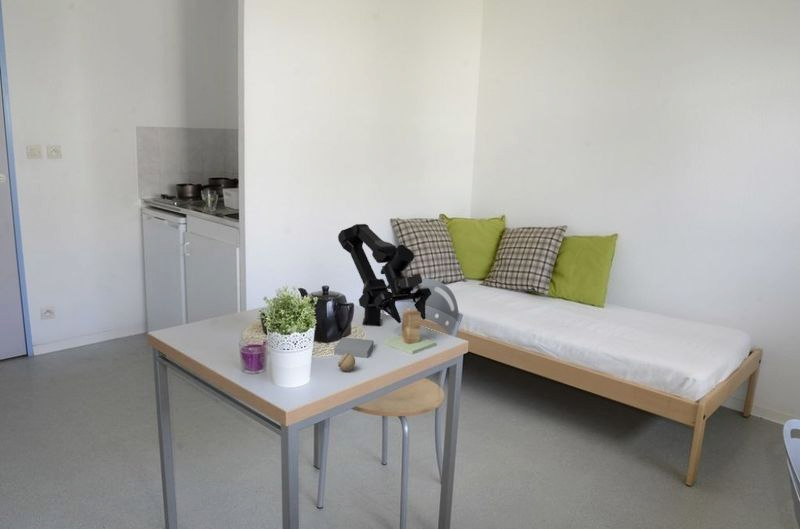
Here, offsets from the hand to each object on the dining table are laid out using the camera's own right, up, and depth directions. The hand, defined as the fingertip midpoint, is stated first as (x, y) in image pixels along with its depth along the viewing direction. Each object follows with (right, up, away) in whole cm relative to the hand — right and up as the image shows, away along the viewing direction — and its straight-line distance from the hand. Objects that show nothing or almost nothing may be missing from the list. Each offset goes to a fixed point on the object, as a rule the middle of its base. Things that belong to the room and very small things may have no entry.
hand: (412, 320), depth 191 cm
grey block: (-18, -8, -6) cm, 21 cm away
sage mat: (-1, -8, +2) cm, 8 cm away
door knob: (-19, -12, -21) cm, 31 cm away
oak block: (-1, -7, +2) cm, 7 cm away
